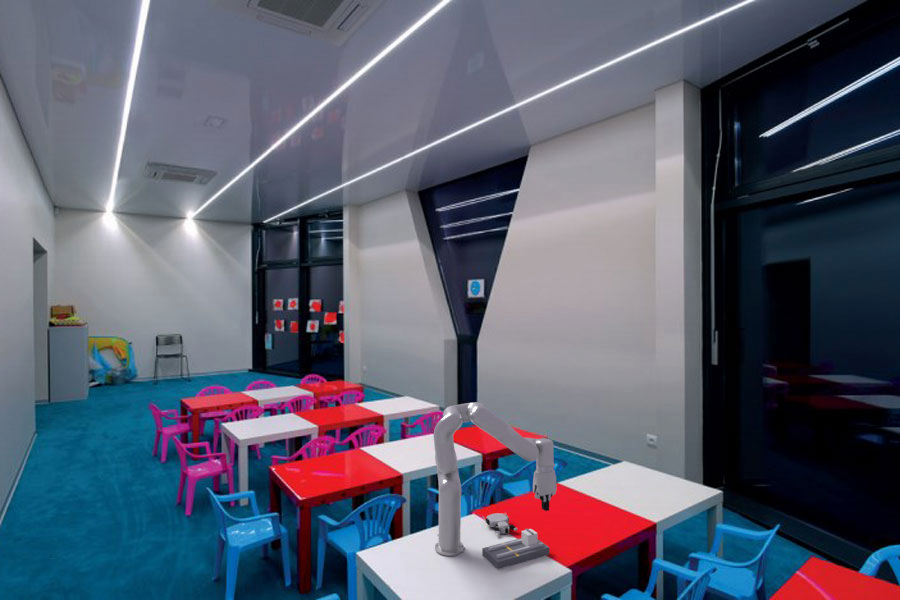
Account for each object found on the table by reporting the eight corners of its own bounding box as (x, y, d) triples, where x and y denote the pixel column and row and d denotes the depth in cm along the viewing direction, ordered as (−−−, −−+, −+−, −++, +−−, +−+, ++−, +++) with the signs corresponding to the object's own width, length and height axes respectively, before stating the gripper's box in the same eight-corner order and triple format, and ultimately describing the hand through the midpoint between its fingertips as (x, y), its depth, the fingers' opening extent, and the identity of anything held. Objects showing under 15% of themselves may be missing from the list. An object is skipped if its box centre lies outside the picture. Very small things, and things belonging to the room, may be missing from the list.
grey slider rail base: (482, 555, 201) (482, 545, 201) (532, 541, 213) (532, 532, 213) (497, 569, 190) (497, 559, 190) (549, 554, 202) (549, 545, 202)
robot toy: (519, 535, 220) (504, 519, 234) (519, 526, 220) (505, 510, 234) (495, 540, 216) (481, 523, 230) (495, 530, 216) (482, 514, 230)
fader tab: (521, 542, 206) (521, 529, 206) (530, 539, 208) (530, 527, 208) (528, 547, 201) (528, 534, 201) (537, 544, 204) (537, 532, 204)
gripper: (552, 462, 215) (553, 503, 215) (525, 468, 209) (526, 510, 208) (563, 467, 209) (564, 509, 208) (536, 473, 202) (536, 516, 202)
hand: (545, 509), depth 208 cm, fingers closed
